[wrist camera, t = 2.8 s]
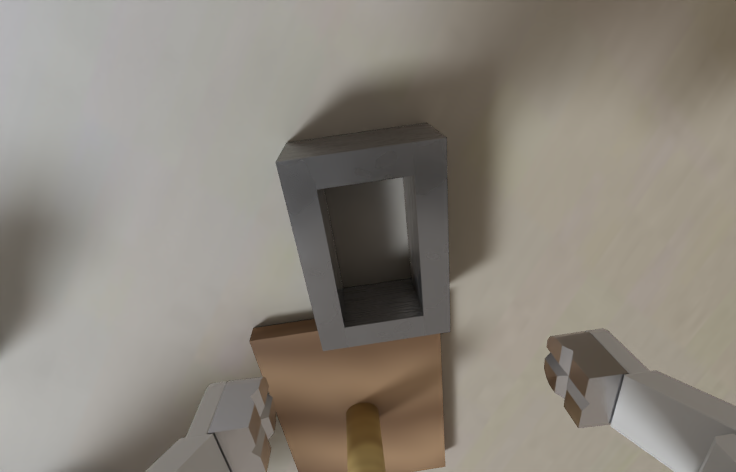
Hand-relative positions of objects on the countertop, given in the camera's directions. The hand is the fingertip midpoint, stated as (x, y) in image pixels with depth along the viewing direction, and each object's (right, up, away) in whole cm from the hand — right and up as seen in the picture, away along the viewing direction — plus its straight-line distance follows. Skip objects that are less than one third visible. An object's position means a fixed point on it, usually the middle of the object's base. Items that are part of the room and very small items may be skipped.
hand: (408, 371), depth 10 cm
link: (-1, +4, +7) cm, 8 cm away
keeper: (-2, -6, +12) cm, 14 cm away
